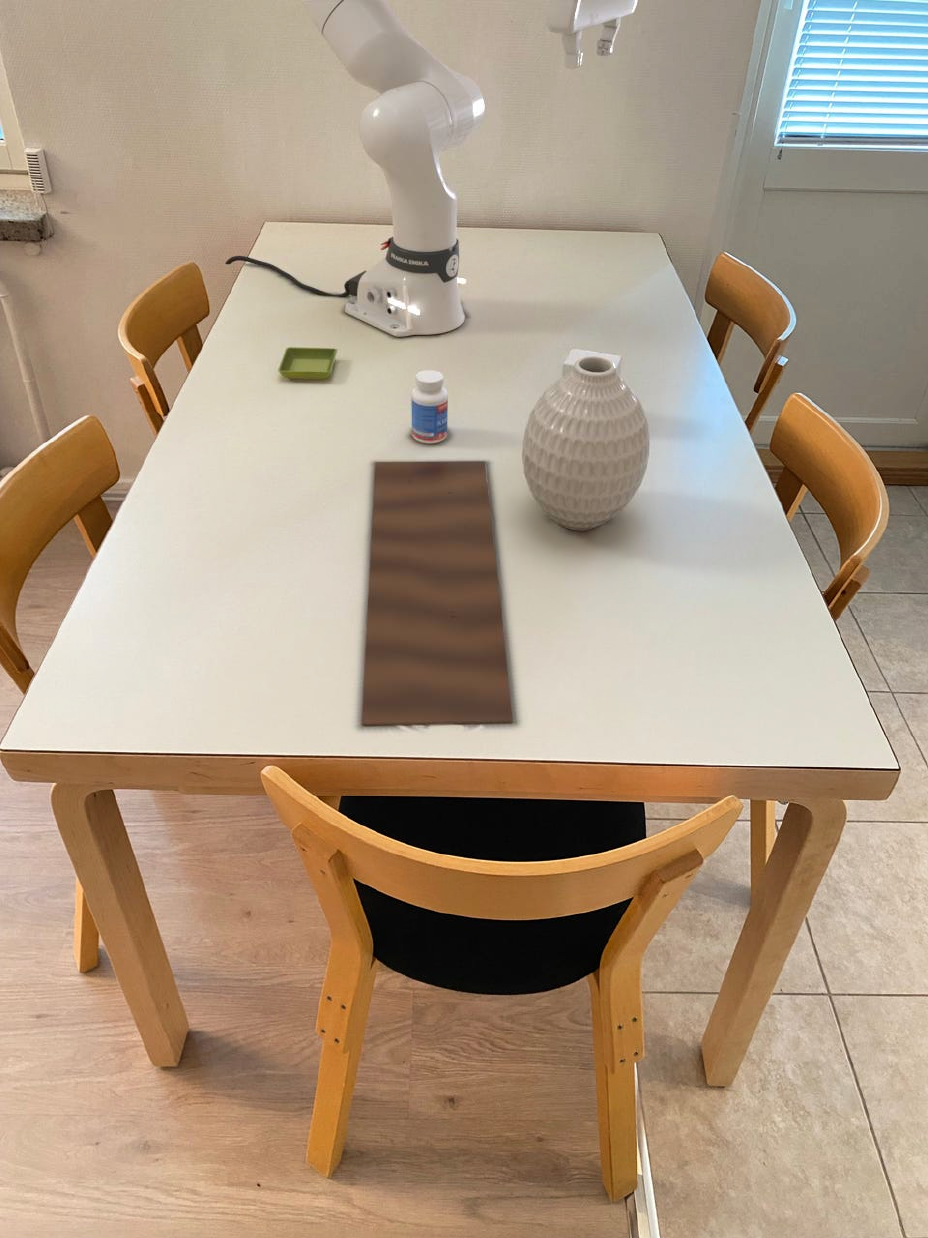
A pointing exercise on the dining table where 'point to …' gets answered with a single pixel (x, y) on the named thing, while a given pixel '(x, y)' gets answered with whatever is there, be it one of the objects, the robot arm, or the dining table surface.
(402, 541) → the board
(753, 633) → the dining table surface
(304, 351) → the green square tray
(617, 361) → the small box
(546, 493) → the vase
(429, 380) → the pill bottle
